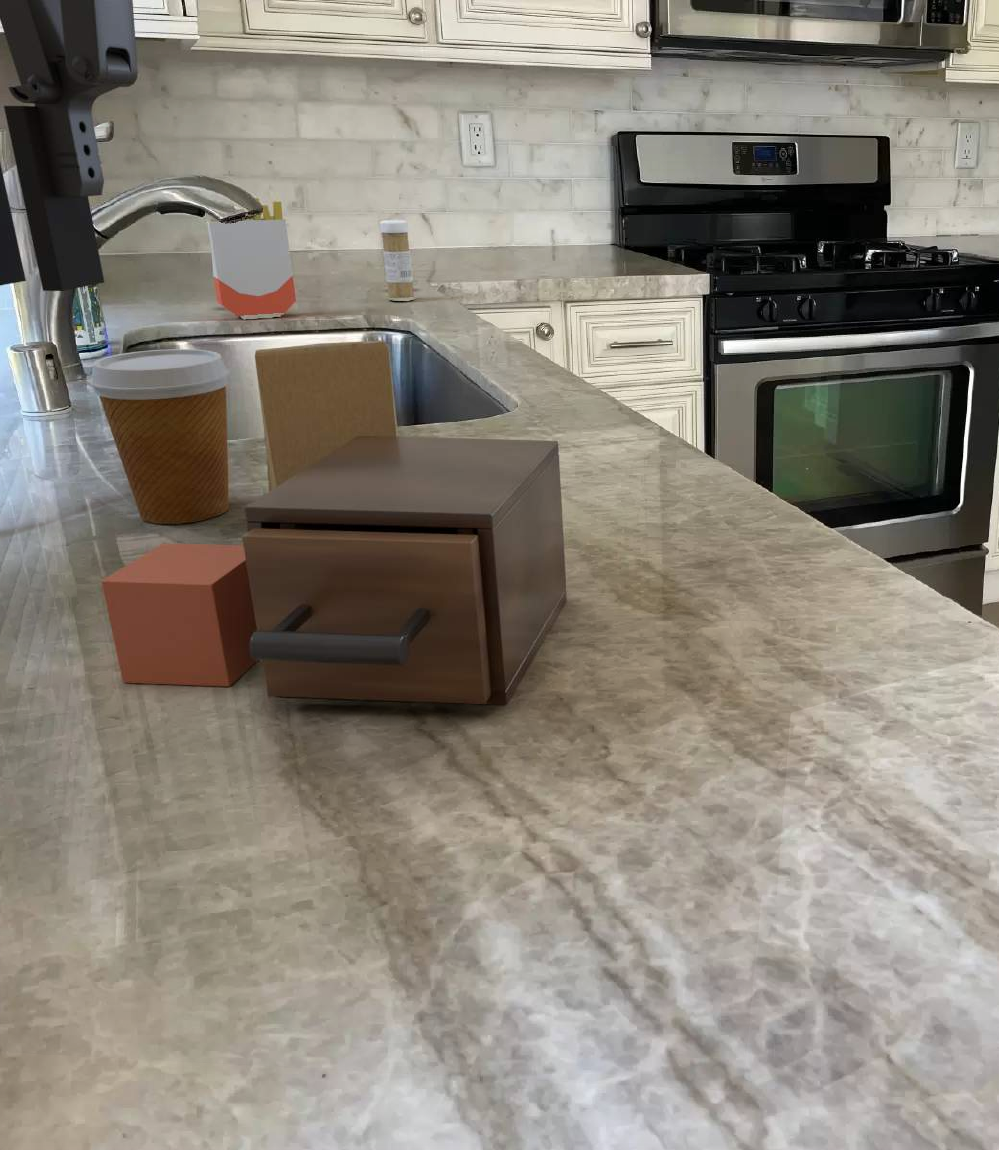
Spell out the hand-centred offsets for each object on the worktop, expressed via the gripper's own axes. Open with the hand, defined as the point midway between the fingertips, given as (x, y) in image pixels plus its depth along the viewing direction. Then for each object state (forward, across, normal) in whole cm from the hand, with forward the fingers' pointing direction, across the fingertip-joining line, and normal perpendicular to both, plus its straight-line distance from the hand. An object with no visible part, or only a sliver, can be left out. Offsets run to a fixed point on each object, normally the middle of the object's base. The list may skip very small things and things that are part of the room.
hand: (34, 284), depth 45 cm
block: (+23, -4, +13) cm, 26 cm away
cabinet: (+23, +8, +16) cm, 29 cm away
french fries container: (+23, -59, +135) cm, 149 cm away
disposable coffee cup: (+23, -19, +39) cm, 49 cm away
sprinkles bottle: (+23, -44, +156) cm, 164 cm away
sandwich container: (+23, -6, +37) cm, 43 cm away
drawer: (+22, +8, +12) cm, 26 cm away
